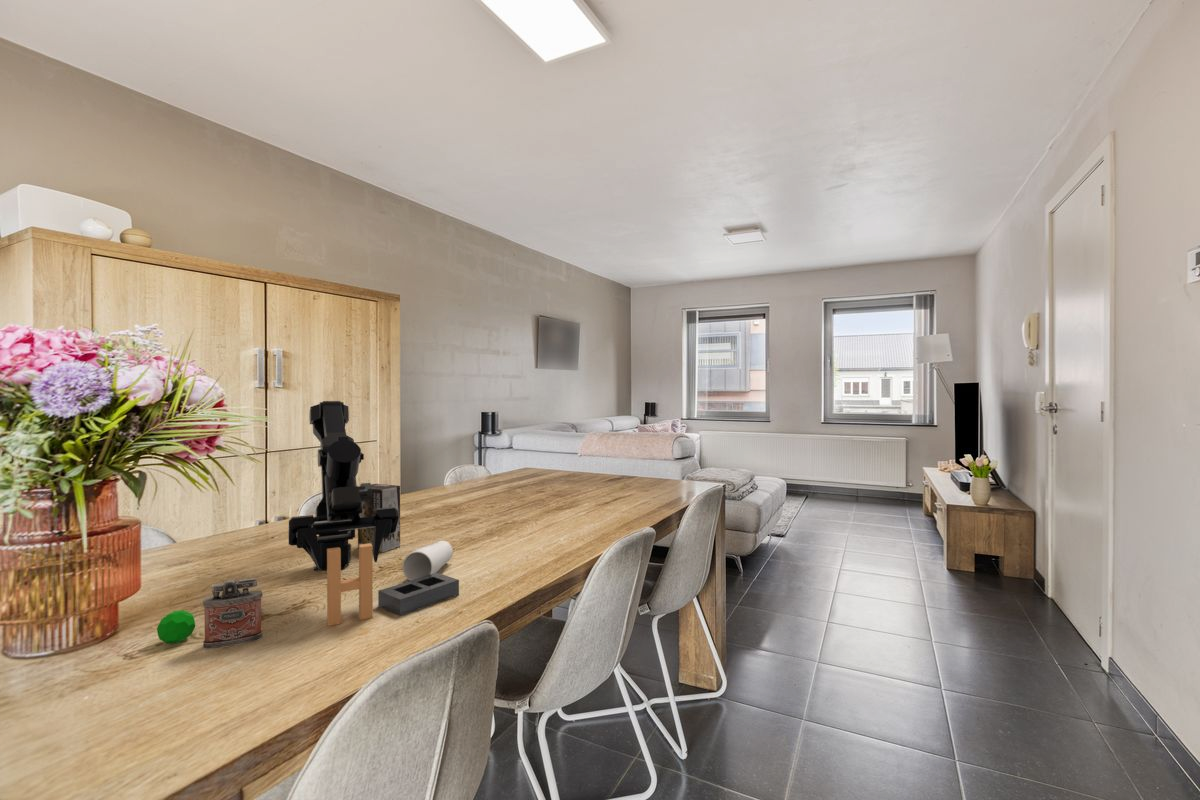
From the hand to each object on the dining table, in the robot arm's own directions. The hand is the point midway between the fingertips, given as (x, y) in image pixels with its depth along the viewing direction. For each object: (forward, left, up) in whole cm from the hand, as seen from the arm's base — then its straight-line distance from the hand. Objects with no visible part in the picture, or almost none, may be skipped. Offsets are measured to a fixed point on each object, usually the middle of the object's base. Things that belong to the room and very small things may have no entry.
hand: (348, 565), depth 99 cm
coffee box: (-2, +45, -10) cm, 46 cm away
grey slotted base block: (+12, +5, -9) cm, 16 cm away
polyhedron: (-25, -5, -10) cm, 27 cm away
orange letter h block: (+1, -2, -9) cm, 9 cm away
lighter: (-16, -7, -10) cm, 20 cm away
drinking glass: (+15, +29, -7) cm, 33 cm away
